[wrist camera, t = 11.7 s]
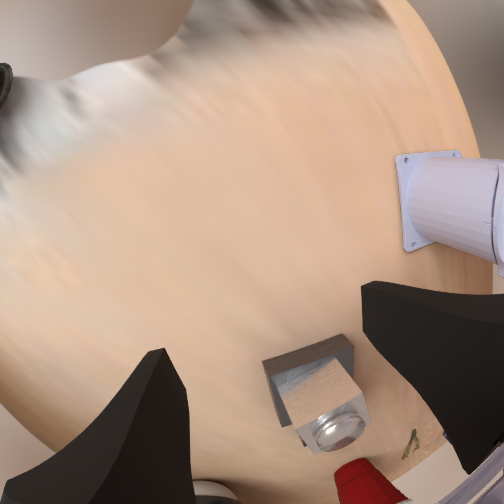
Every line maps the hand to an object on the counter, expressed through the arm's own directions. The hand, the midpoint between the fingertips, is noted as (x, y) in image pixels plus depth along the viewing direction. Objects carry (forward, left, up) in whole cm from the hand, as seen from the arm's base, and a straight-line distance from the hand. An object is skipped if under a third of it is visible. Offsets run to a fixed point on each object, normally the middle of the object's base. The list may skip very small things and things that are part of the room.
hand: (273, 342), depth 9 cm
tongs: (-22, +43, -10) cm, 49 cm away
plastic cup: (-9, +38, -10) cm, 40 cm away
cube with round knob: (-4, +12, -7) cm, 14 cm away
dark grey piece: (-4, +15, -9) cm, 18 cm away
